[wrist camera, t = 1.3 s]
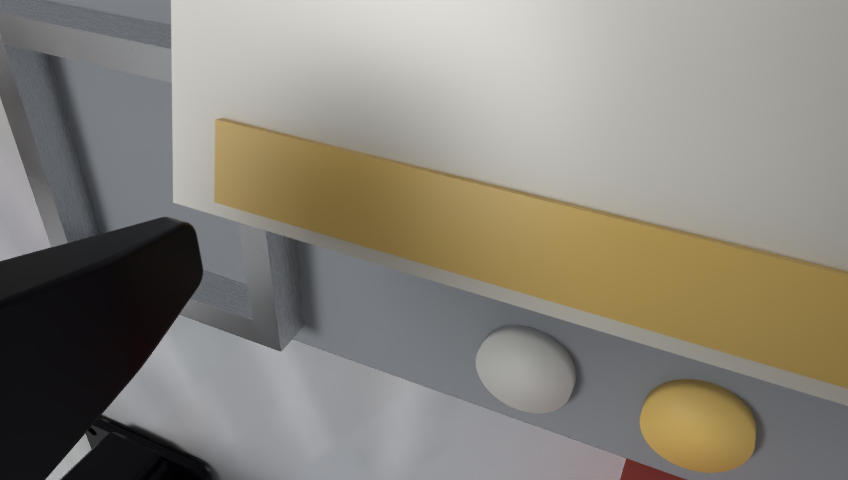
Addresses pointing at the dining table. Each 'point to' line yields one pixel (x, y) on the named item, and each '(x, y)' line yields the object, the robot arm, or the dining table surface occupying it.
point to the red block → (644, 472)
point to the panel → (462, 319)
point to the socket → (64, 176)
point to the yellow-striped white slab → (547, 157)
